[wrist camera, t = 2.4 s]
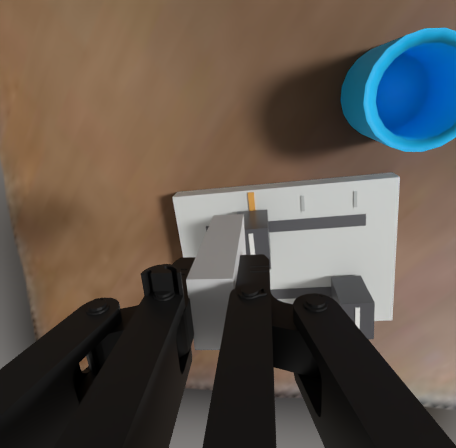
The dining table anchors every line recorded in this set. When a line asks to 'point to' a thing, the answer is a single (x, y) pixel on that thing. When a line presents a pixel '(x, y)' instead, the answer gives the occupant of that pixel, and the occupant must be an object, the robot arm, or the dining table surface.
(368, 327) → the fader
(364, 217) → the console
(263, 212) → the fader
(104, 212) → the dining table surface
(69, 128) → the dining table surface
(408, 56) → the mug
